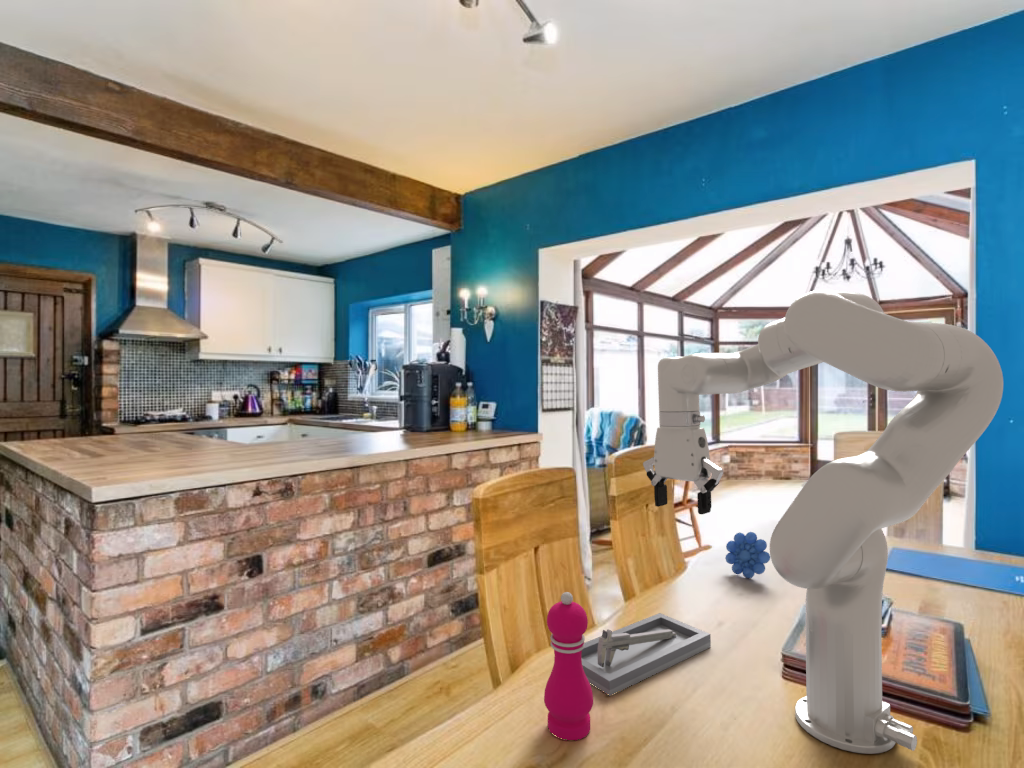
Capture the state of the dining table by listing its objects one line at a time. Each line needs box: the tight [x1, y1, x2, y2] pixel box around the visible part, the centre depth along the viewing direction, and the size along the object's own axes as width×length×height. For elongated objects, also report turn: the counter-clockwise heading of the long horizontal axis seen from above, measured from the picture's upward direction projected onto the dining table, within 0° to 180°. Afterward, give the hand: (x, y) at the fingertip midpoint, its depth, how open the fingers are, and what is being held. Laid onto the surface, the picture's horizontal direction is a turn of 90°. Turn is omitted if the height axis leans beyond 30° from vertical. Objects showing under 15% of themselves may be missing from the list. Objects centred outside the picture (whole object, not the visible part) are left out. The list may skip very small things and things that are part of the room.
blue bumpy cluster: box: [725, 531, 771, 579], centre depth 141 cm, size 12×7×12 cm, turn 39°
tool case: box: [581, 612, 712, 697], centre depth 102 cm, size 12×27×2 cm, turn 126°
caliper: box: [598, 628, 677, 667], centre depth 102 cm, size 20×1×6 cm, turn 126°
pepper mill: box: [543, 591, 594, 741], centre depth 82 cm, size 7×7×20 cm
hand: (682, 509), depth 107 cm, fingers open, 9 cm apart
